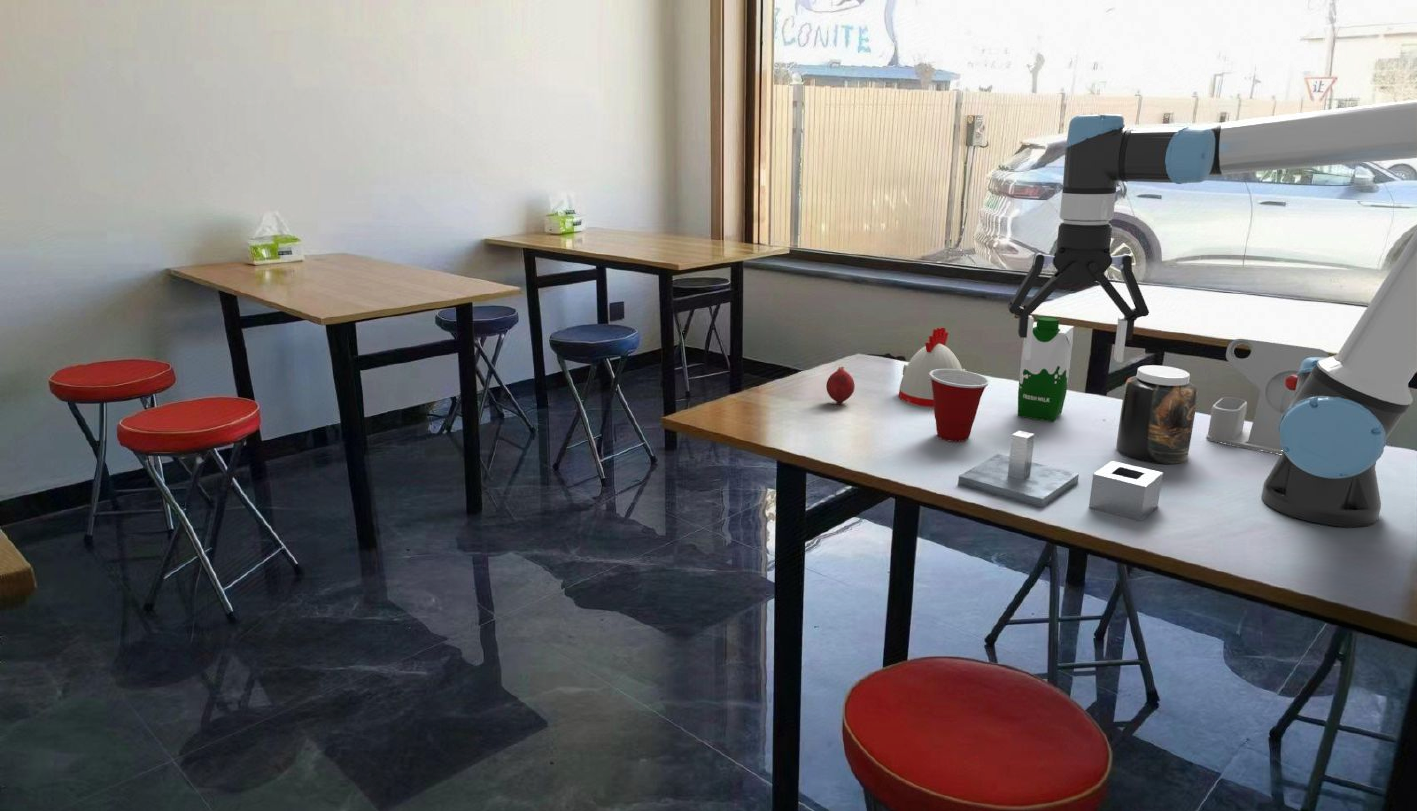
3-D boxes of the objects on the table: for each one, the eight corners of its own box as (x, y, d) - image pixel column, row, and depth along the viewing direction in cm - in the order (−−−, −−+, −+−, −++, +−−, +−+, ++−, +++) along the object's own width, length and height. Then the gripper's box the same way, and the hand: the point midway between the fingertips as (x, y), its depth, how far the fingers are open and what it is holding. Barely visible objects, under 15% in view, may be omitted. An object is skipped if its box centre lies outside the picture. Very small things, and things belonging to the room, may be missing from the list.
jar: (1105, 453, 164) (1116, 371, 159) (1129, 437, 172) (1140, 359, 168) (1175, 469, 156) (1189, 384, 152) (1197, 452, 164) (1210, 371, 160)
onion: (855, 407, 190) (857, 370, 187) (827, 407, 190) (828, 370, 187) (851, 399, 195) (853, 362, 193) (824, 399, 195) (825, 362, 193)
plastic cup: (986, 448, 166) (992, 384, 163) (925, 444, 168) (929, 381, 165) (982, 429, 176) (987, 368, 173) (924, 425, 178) (928, 366, 175)
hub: (1157, 506, 141) (1162, 472, 140) (1140, 521, 136) (1145, 486, 134) (1107, 493, 146) (1111, 460, 145) (1088, 507, 141) (1093, 473, 139)
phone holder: (1201, 439, 171) (1217, 345, 166) (1216, 426, 178) (1232, 335, 173) (1310, 461, 160) (1331, 361, 155) (1321, 446, 167) (1341, 350, 162)
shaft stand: (1077, 482, 151) (1084, 433, 148) (1041, 508, 141) (1047, 455, 138) (997, 461, 160) (1002, 415, 157) (958, 484, 150) (962, 435, 147)
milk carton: (1011, 416, 184) (1021, 318, 178) (1023, 405, 191) (1033, 310, 185) (1057, 424, 179) (1069, 323, 173) (1067, 412, 187) (1079, 315, 181)
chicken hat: (977, 397, 197) (983, 328, 193) (946, 411, 187) (952, 339, 183) (919, 385, 206) (923, 319, 202) (886, 398, 196) (891, 329, 192)
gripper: (1168, 219, 140) (1150, 355, 146) (997, 219, 145) (987, 351, 151) (1182, 224, 133) (1163, 367, 139) (1001, 224, 138) (991, 362, 144)
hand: (1071, 359), depth 145 cm, fingers open, 13 cm apart
